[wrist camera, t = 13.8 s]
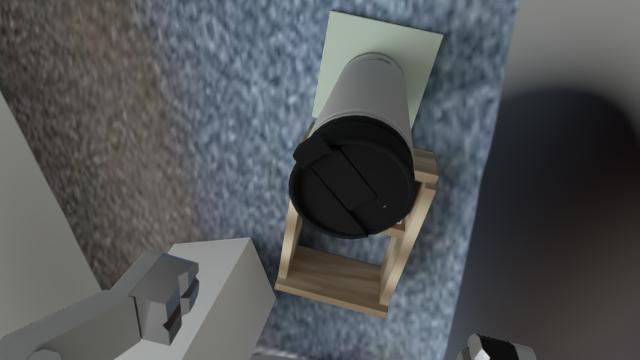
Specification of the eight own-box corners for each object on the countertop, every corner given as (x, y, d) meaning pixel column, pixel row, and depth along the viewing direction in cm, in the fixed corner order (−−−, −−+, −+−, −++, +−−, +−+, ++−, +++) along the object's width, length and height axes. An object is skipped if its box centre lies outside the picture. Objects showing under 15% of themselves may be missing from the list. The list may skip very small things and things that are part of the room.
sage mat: (331, 10, 32) (330, 10, 31) (442, 34, 31) (443, 35, 30) (313, 114, 37) (311, 116, 36) (407, 137, 36) (408, 139, 36)
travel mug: (379, 33, 31) (363, 105, 14) (418, 94, 33) (444, 220, 16) (323, 74, 34) (254, 177, 17) (362, 128, 36) (335, 268, 19)
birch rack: (311, 123, 37) (296, 152, 31) (433, 152, 37) (441, 187, 31) (289, 248, 47) (274, 289, 41) (386, 274, 46) (385, 318, 40)
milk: (205, 301, 55) (81, 519, 33) (174, 244, 50) (2, 457, 28) (276, 298, 52) (190, 538, 30) (250, 237, 47) (124, 472, 25)
